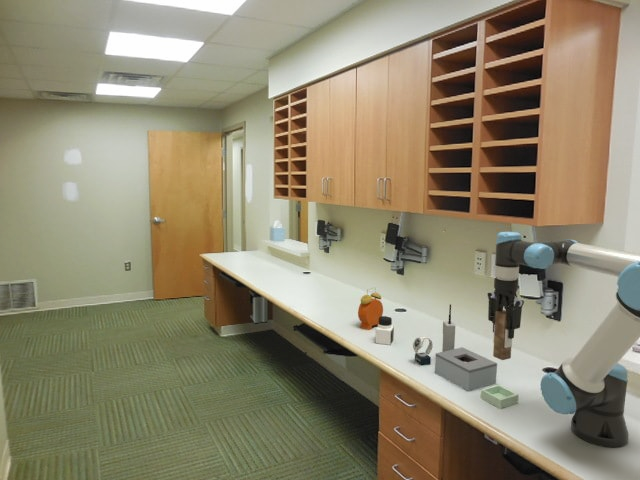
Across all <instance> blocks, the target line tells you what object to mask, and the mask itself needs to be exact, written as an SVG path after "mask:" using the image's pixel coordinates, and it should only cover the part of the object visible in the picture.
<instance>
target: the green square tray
mask: <svg viewBox="0 0 640 480" xmlns="http://www.w3.org/2000/svg"><path fill="white" fill-rule="evenodd" d="M480 399H482V400H483V401H486V402H487V403H489V404H491V405H493V406H494V407H496V408H498V409H503V408H506V407H510V406H513V405H516V404H518V402H519V394H518V393H516V392H514V391H512V390H510V389H508V388H506V387H504V386H502V385H501V384H496V385H495V384H494V385H493V386H492V385H491V386H488V387H485V388H481V390H480Z"/></svg>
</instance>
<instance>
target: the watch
mask: <svg viewBox="0 0 640 480" xmlns="http://www.w3.org/2000/svg"><path fill="white" fill-rule="evenodd" d="M425 340H428V341H429V343H428V346H427V348H426V350H425V352H419V350H420V349H422V347H423V344H424V342H425ZM433 345H434V343H433V342H432V340H431V339H430V338H429V337H427V336H419V337H417V338H415V339H414V341H413V343H412V348H413V351H414V352H415V353H414V362H416V363H417V364H418V365H420V366H421V367H422V366H430V365H431V364H432V363H431V361H432V359H431V356H429V354H430V353H431V352H432V349H433Z"/></svg>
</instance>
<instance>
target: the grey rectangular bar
mask: <svg viewBox="0 0 640 480" xmlns="http://www.w3.org/2000/svg"><path fill="white" fill-rule="evenodd" d="M448 309H449V313H448V320H445V321H444V320H443V321H442V351H441V352H444V351H448V350H453V349H455V343H456V342H455V341H456V324H454V322H453V321H451V320H452V315H451V314H452V312H451V311H452V304H451V303H450V304H449V308H448Z"/></svg>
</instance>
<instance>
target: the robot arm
mask: <svg viewBox="0 0 640 480" xmlns="http://www.w3.org/2000/svg"><path fill="white" fill-rule="evenodd" d="M495 241H496V242H495V265H494V279H493V288H494V291H491V292H488V293H487V298H488V313H487V318H488V321H489V322H491V323H492V333H493V334H494V332H495V314H496V311H503V310H505V311H506V314H507V316H506V318H507V327H508V328H506V329H505V345H504V347H505V348H508V347H511V348H512V346H513V339H514V337H515V330H518V329H521V319H522V313H523V312H522V310H523V306H524V304H525V301H524V300H522V299H519V298H518V295H517V291H518V289H519V279H518V278H519V273H520V265H523V266H526V267H530V268H533V269H541V270H543V269H547V268H548V267H550V266H551V265H564V266H570V267H575V268H579V269H583V270H588V271H590V272H591V271H592V272H595V273H596V272H597V273H600V274H604V275H609V276H613V277H617V282H616V285H617V286H618V287H617V289H616V290H617V291H616V293H615V299H616V302H617V303H616V304H614V306H613V307H612V309H611V310H610V311H609V313H608V314H606V315H607V316H606V317H605V318H604V319H603V321H602V322H601V323H600V325H599V326H598V327H597V328H596V329H595V331H593V333H592V334H591V335H590V337H589V339H588V340H587V341H586V342H585V344H584V345H583V346H582V347H581V348H580V350H579V351H578V352H577V354H576V355H575V356H574V357H568V358H566V359H565V360H564V361H562V363H561V364H560V366H559V367H558V368H557V370H555V371H554V372H551V371H550V372H549V373H546V374H544V375H543V377H542V378H541V380H540V391H541V395H542V398H543V399H544V401H545V403H546V404H547V405H548V407H549V408H550V409H552V410H553V412H555V413H557V414H560V415H573V416H572V417H571V421H570V429H571V431H572V432H573V434H575V435H576V437H578V438H580V439H581V440H583V441H585V442H588V443H591V444H594V445H596V446H601V447H606V448H620V447H624V446H626V445H627V444H628V442H629V431H628V428H627V423H626V419H625V415H624V413H625V412H624V411H625V403H626V395H627V388H628V386H627V385H628V383H629V380H628V374H629V373H628V370H627V369H626V367H625V366H624V365H622V364H620V363H619V362H620V361H621V359H622V358H624V356H625V355H626V354H627V353H628V352H629V351H630V349H631V348H632V347H633V346H634V344H635V343H636V342H637V341H639V339H640V253H636V252H631V251H626V250H620V249H616V248H608V247H605V246H596V245H591V244H586V243H579V242H578V241H577V240H574V239H560V240H547V241H536V242H535V241H526V240H525V241H524V240H522V234H521V233H519V232H516V231H500V232H499V233H497V236H496V240H495ZM492 343H493V344H494V340H493V342H492Z"/></svg>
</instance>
